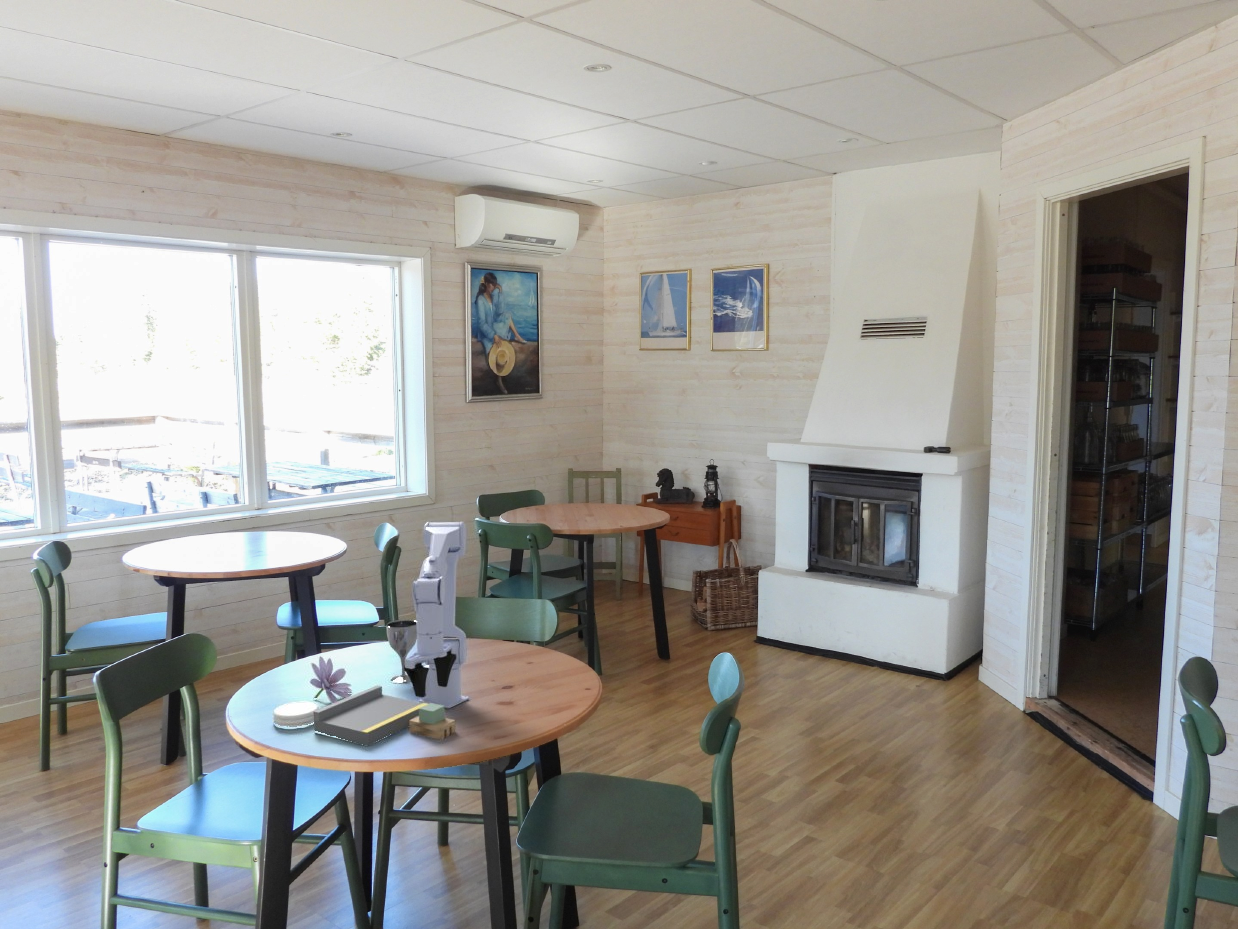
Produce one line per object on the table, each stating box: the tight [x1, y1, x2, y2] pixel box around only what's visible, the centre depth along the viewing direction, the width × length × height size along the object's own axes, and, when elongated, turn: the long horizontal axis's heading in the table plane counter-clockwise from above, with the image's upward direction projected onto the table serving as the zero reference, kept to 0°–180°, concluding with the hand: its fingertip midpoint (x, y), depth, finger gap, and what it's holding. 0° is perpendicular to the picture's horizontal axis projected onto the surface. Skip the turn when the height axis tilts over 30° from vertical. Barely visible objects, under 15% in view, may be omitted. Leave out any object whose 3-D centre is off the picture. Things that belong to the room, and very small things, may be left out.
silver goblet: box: [386, 619, 417, 684], centre depth 246 cm, size 8×8×15 cm
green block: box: [419, 703, 446, 725], centre depth 210 cm, size 4×4×3 cm
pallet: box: [408, 716, 456, 740], centre depth 210 cm, size 9×5×3 cm, turn 61°
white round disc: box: [272, 701, 320, 727], centre depth 217 cm, size 10×10×4 cm
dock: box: [313, 685, 427, 746], centre depth 215 cm, size 16×20×5 cm
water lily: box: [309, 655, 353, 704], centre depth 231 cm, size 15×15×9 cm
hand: (431, 691), depth 209 cm, fingers open, 7 cm apart
